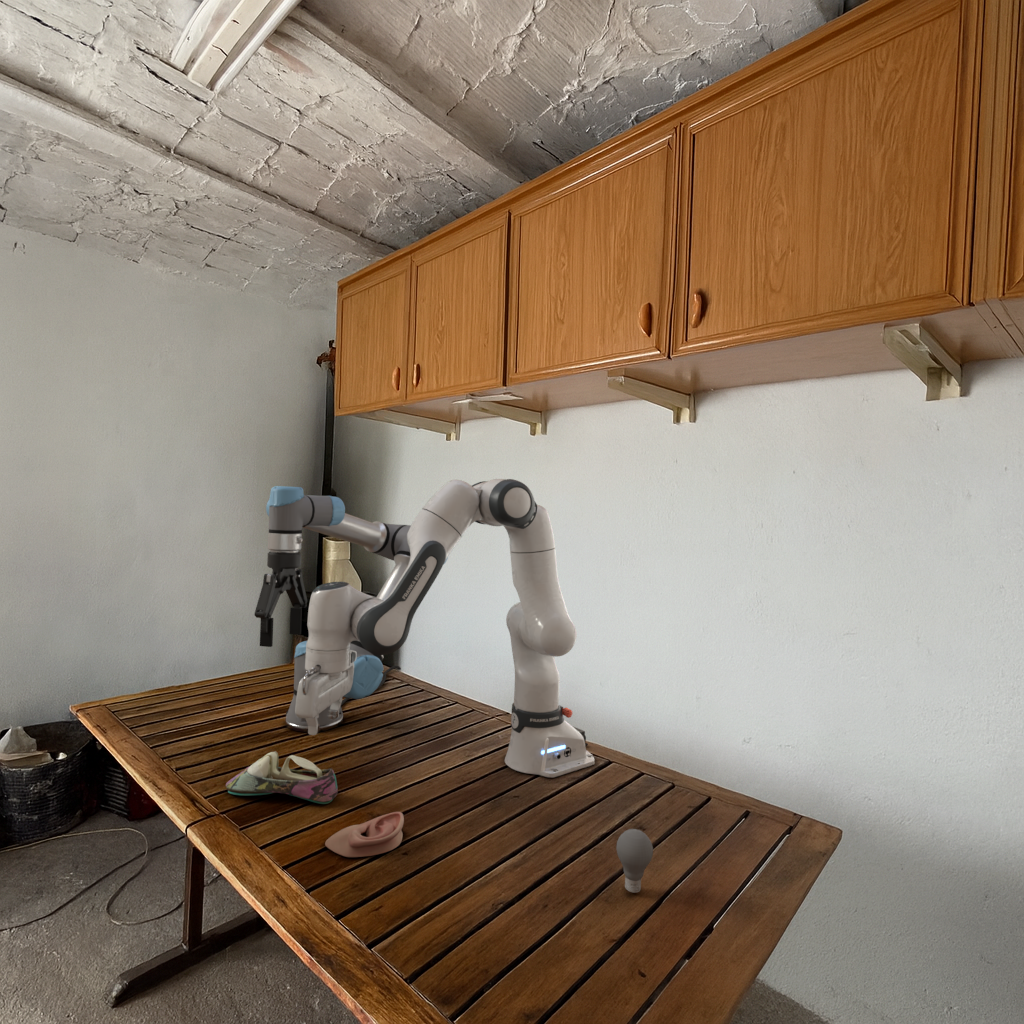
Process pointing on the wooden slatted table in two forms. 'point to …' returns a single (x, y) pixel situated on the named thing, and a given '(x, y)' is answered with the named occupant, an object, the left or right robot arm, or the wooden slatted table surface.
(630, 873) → the light bulb
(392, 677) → the wooden slatted table surface
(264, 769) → the ballet flat
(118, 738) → the wooden slatted table surface
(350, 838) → the anatomical model
